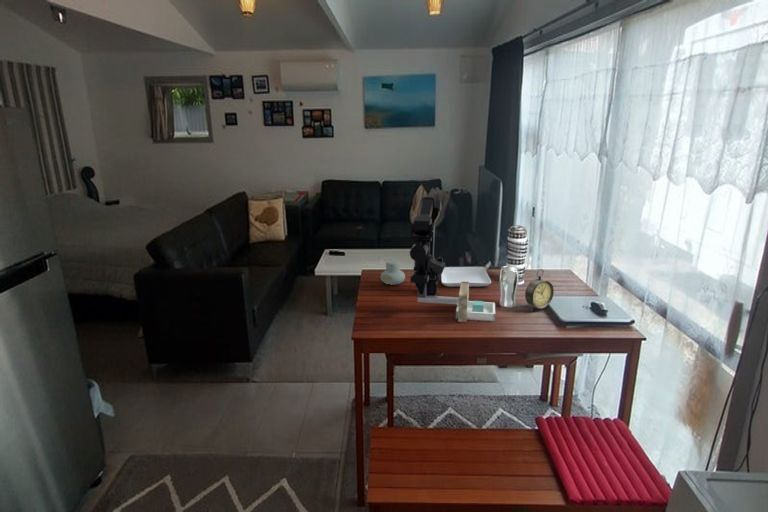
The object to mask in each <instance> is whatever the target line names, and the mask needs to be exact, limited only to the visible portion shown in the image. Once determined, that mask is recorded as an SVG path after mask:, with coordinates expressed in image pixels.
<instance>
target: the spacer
mask: <svg viewBox="0 0 768 512" xmlns="http://www.w3.org/2000/svg"><path fill="white" fill-rule="evenodd" d="M472 301H473V307H472V312H483V309H484V302H485V301H483V300H472Z"/></svg>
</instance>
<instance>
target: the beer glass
mask: <svg viewBox="0 0 768 512" xmlns="http://www.w3.org/2000/svg"><path fill="white" fill-rule="evenodd" d="M518 270H519V269H518V268H517V267H513V266H506V265H504V266H503V265H502V266H501V267H500V272H499V286H500V287H499V288H500V300H499V306H501V307H502V308H508V309H511V308H514V307H516V293H517V289H518V286H519V285H518V279H519V272H518Z"/></svg>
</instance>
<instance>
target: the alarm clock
mask: <svg viewBox="0 0 768 512" xmlns="http://www.w3.org/2000/svg"><path fill="white" fill-rule="evenodd" d="M540 270H541V271H542V273H541V275H539V274H538V273H539V271H540ZM543 275H544V270H543V268H539V269H538V270H537V272H536V277H537V278H534V279H533V280H531V281H529V283H528V285H527V286H526V289H525V293H524V294H525V295H524V296H525V297H524V298H525V301H526V303H527V304H528V305H529V306H531V309H530V311H529V312H530V313H533V310H534V308H535V309H539V310H541V309H544V308H546V307H547V305H548V306H549V304H551V302H552V300H553V298H554V293H555V291H554V290H555V289H554V286H553V284H552V283H551V281H549V280H546V279H543V278H542V276H543Z"/></svg>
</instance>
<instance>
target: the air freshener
mask: <svg viewBox="0 0 768 512" xmlns="http://www.w3.org/2000/svg"><path fill="white" fill-rule="evenodd" d="M380 280H381V281H382V282H383V284H386V285H388V284H390V285H389V286H396V284H397V285H399V284H401V283H403V282H404V281H405V280H406V274H405V273H404V271H403V270H401V269H400V261H399V260H397V259H390V260H389V259H388V260H387V261H385V270H384V271H383V272H382V273H381V274H380Z"/></svg>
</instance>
